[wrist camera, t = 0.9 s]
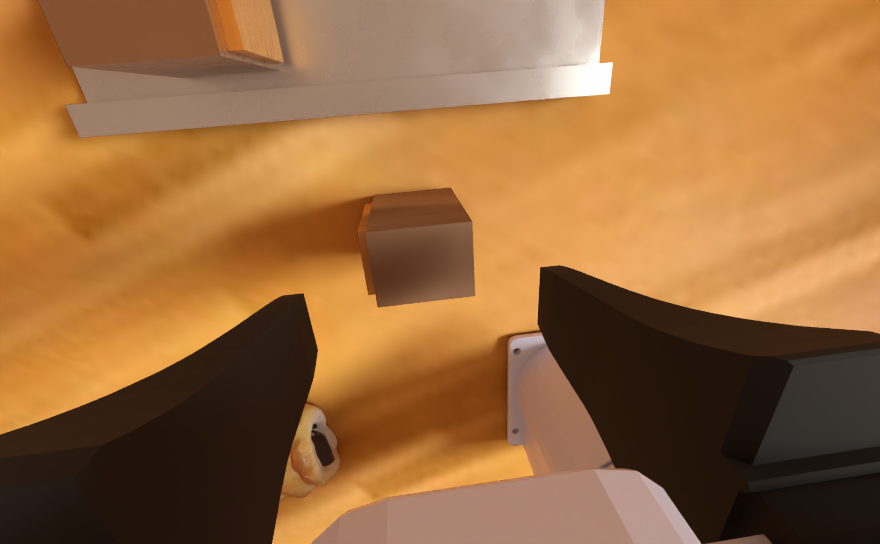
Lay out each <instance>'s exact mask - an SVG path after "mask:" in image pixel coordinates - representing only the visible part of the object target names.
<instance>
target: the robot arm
mask: <svg viewBox="0 0 880 544" xmlns="http://www.w3.org/2000/svg"><path fill="white" fill-rule="evenodd" d="M538 326H539V328H540V331H541V332H539V333H531V334H523V335H516V336H512V337H511V338H510V339H509V340H508V396H507V439H508V442H509V444H510V445H512V446H516V445H523V446H524V449H525V451H526V454H527V457H528V459H529V462H530V465H531V467H532V470H533V473H534V476H527V477H521V478H514V479H507V480H500V481H494V482H487V483H480V484H474V485H467V486H460V487H453V488H447V489H440V490H433V491H427V492H420V493H413V494H407V495H400V496H393V497H388V498H385V499H382V500H379V501H376V502H373V503H370V504H367V505H364V506H361V507H358V508H355V509H352V510H349V511H347V512H346V513H344V514H343V515H341V516H340V517H339V518H338V519H337V520H336V521H335V522H333V523H332V524H331V525H330V526H329V527H328V528H327V529H326V530H325V531H324V532H323V533H322V534H321V535H320V536H319V537H317V538H316V539H315V540H314V541H313V542H312V544H880V334H878V333H875V332H870V331H858V330H844V329H831V328H817V327H804V326H794V325H786V324H778V323H770V322H762V321H755V320H748V319H742V318H736V317H730V316H725V315H720V314H715V313H709V312H704V311H700V310H695V309H691V308H687V307H683V306H679V305H675V304H671V303H668V302H664V301H660V300H657V299H654V298H650V297H647V296H644V295H641V294H638V293H635V292H632V291H629V290H627V289H624V288H621V287H618V286H616V285H613V284H611V283H608V282H605V281H603V280H600V279H598V278H595V277H593V276H590V275H587V274H585V273H582V272H580V271H577V270H574V269H571V268H568V267H565V266H560V265H559V266H549V267H540V285H539V305H538ZM516 348H519V349H518V350H517V351H513V350H514V349H516ZM317 352H318V349H317V345H316V341H315V337H314V333H313V329H312V325H311V321H310V317H309V313H308V309H307V305H306V301H305V298H304V294H293V295H284V296H281V297H279V298H277V299H275V300H274V301H272V302H270V303H269V304H267V305H266V306H264V307H263V308H262V309H260V310H259V311H257V312H256V313H254V314H253V315H251V316H250V317H249V318H247V319H246V320H244V321H243V322H241V323H240V324H238V325H237V326H236V327H234V328H233V329H231V330H229V331H228V332H226V333H225V334H223V335H222V336H220V337H219V338H217V339H215V340H214V341H212V342H211V343H209V344H208V345H206V346H204V347H203V348H201V349H200V350H198V351H196V352H194V353H193V354H191V355H189V356H187V357H186V358H184V359H182V360H180V361H178V362H176V363H175V364H173V365H171V366H169V367H167V368H165V369H163V370H161V371H159V372H157V373H155V374H153V375H151V376H149V377H147V378H145V379H142V380H140V381H138V382H136V383H134V384H131V385H129V386H127V387H125V388H123V389H121V390H118V391H116V392H114V393H112V394H110V395H107V396H105V397H102V398H100V399H97V400H95V401H92V402H90V403H88V404H85V405H83V406H80V407H78V408H75V409H72V410H70V411H67V412H64V413H62V414H59V415H56V416H54V417H51V418H48V419H45V420H43V421H40V422H37V423H34V424H31V425H29V426H25V427H22V428H19V429H16V430H13V431H10V432H7V433H4V434H1V435H0V544H272V540H273V535H274V529H275V524H276V518H277V513H278V507H279V502H280V496H281V491H282V487H283V482H284V477H285V472H286V467H287V462H288V459H289V455H290V451H291V448H292V444H293V441H294V438H295V435H296V432H297V429H298V426H299V423H300V419H301V416H302V413H303V410H304V407H305V404H306V401H307V398H308V394H309V391H310V388H311V385H312V381H313V378H314V372H315V366H316V359H317ZM513 429H514V430H513Z"/></svg>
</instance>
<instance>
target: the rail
mask: <svg viewBox="0 0 880 544" xmlns="http://www.w3.org/2000/svg"><path fill="white" fill-rule="evenodd" d="M38 1H39V4H40V6H41V8H42V10H43V13H44V15H45V17H46V20H47V22H48V24H49V26H50V29H51V31H52V33H53V35H54V38H55V40H56V42H57V45H58V47H59V49H60V51H61V54H62V56H63V58H64V61H65V63H66V65H67V67H72V69H73V71H74V73H75V76H76V78H77V80H78V82H79V85H80V87H81V89H82V92H83V94H84V96H85V99H86V101H87V103H83V104H70V105H65V106H66V108H67V110H68V112H69V115H70V117H71V119H72V121H73V123H74V126H75V128H76V130H77V132H78V134H79V136H80V138H83V137H95V136H107V135H119V134H131V133H143V132H155V131H167V130H179V129H191V128H203V127H215V126H227V125H239V124H251V123H263V122H275V121H287V120H299V119H311V118H323V117H335V116H347V115H359V114H371V113H383V112H395V111H407V110H419V109H431V108H443V107H455V106H467V105H479V104H491V103H503V102H515V101H527V100H539V99H551V98H563V97H575V96H587V95H599V94H609V91H610V82H611V72H612V63H600V64H599V56H600V46H601V35H602V25H603V14H604V4H605V0H38Z"/></svg>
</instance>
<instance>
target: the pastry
mask: <svg viewBox="0 0 880 544" xmlns="http://www.w3.org/2000/svg"><path fill="white" fill-rule="evenodd" d="M336 446H337V439H336V436H335V434H334V433H333V432H332V431H331V429H330V428H329V427H328V426H327V425H326V417H325V415H324V413H323V411H322V410H321V409H320V408H318V407H316V406H313V405H310V404H305V407H304V410H303V413H302V416H301V419H300V423H299V426H298V429H297V432H296V435H295V438H294V441H293V444H292V448H291V451H290V455H289V459H288V462H287V467H286V472H285V477H284V482H283V487H282V491H281V496H280V501H281V500H283V499H284V498H285V497H286V495H288V496H294V497H298V498H303V497H305V496H306V495H308V494H309V493H310V492H311V491H312V490H313V489H314V488H315V486H316V485H317V486H324V485H325V484H326V483H327V481H328V480H329V479H330V478H332V477H333V476H334V475H335V472H336V471H337V470H338V469H339V465H340V457H339V454H338V451H337V447H336Z"/></svg>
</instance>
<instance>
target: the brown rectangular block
mask: <svg viewBox="0 0 880 544" xmlns="http://www.w3.org/2000/svg"><path fill="white" fill-rule="evenodd" d="M357 234H358V239H359V245H360V251H361V256H362V262H363V268H364V273H365V279H366V285H367V290H368V295H372V294H376V300H377V306H378V307H386V306H394V305H403V304H411V303H420V302H428V301H437V300H445V299H453V298H462V297H470V296H475V282H474V256H473V230H472V220H471V219H470V217H469V216H468V214H467V213H466V211H465V209H464V208H463V206H462V205H461V203H460V202H459V200H458V198H457V197H456V195H455V194H454V192H453V191H452V189H451V188H443V189H433V190H423V191H412V192H402V193H392V194H382V195H374V196H373V200H372V203H368V204H365V207H364V210H363V214H362V217H361V220H360V224H359V227H358V231H357Z"/></svg>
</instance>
